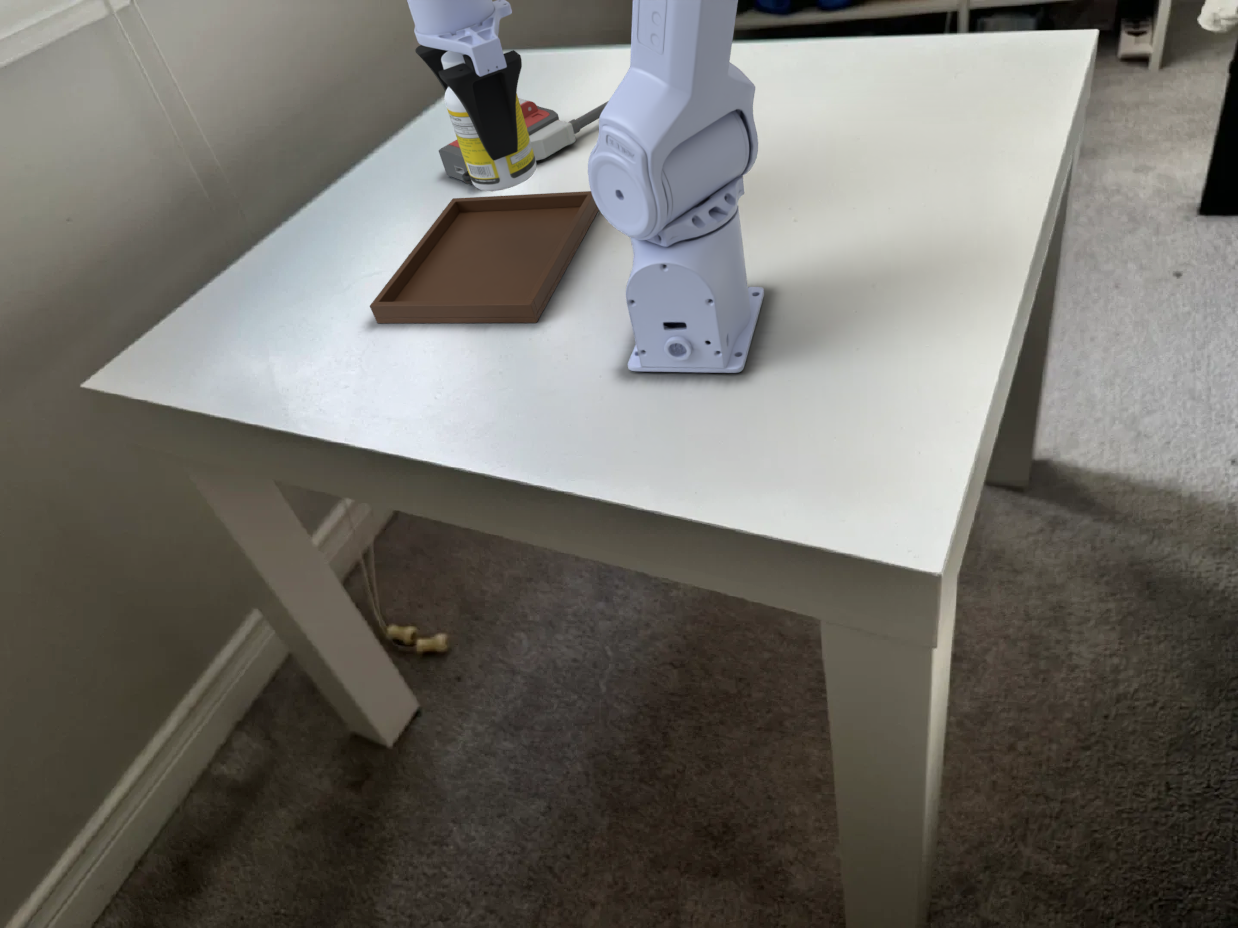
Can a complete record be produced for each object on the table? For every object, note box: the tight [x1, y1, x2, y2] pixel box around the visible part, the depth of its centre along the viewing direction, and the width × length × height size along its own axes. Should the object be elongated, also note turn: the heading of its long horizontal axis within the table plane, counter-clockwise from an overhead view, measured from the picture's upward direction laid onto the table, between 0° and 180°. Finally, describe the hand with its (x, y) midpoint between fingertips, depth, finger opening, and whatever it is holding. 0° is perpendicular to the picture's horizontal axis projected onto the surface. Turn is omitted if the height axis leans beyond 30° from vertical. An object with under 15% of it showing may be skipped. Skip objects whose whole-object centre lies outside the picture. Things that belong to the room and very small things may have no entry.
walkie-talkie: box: [438, 97, 609, 185], centre depth 91 cm, size 9×4×20 cm
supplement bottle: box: [441, 51, 537, 192], centre depth 69 cm, size 5×5×10 cm
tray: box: [369, 190, 600, 324], centre depth 76 cm, size 17×14×2 cm
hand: (492, 142), depth 70 cm, fingers closed on supplement bottle, 5 cm apart
